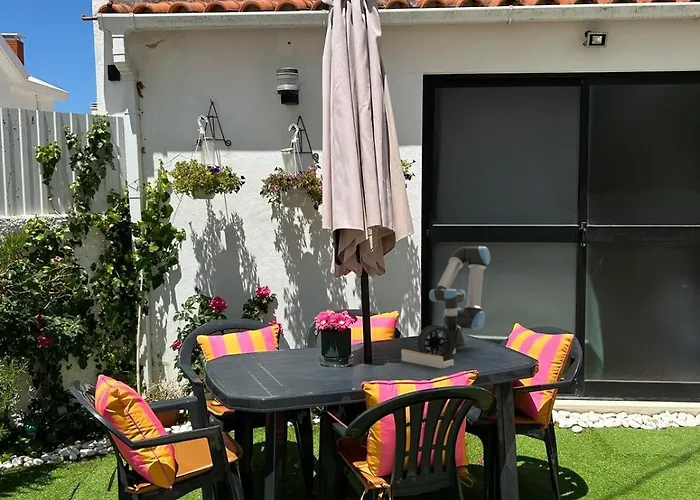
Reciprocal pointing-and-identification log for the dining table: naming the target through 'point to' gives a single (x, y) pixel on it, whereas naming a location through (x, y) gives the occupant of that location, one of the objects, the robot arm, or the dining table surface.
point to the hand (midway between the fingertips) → (453, 353)
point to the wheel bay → (425, 359)
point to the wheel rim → (436, 341)
